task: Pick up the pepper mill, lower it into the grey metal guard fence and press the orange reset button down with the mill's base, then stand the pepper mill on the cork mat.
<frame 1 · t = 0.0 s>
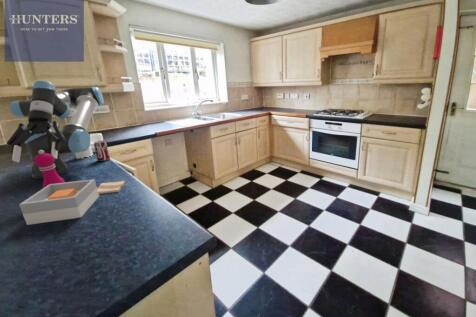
hand: (35, 159, 89), 16 cm above the counter, tool tilted 35°, fingers open, 13 cm apart
bracket: (92, 153, 157), on the counter
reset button: (63, 198, 80), point 4 cm above the counter, slide at 0.0 cm
pepper mill: (58, 195, 93), on the counter, touching gripper
soda can: (104, 160, 139), on the counter
breaker box: (67, 208, 81), on the counter
cork mat: (110, 188, 97), on the counter
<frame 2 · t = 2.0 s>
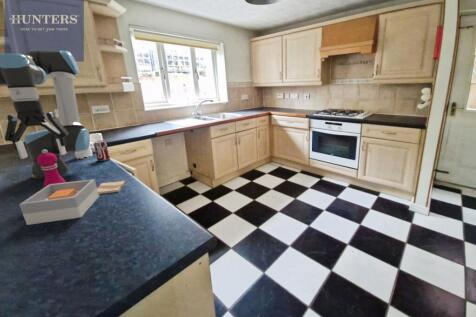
hand: (44, 156, 87), 17 cm above the counter, tool pointing down, fingers open, 13 cm apart
pepper mill: (58, 195, 93), on the counter
everything else where it was.
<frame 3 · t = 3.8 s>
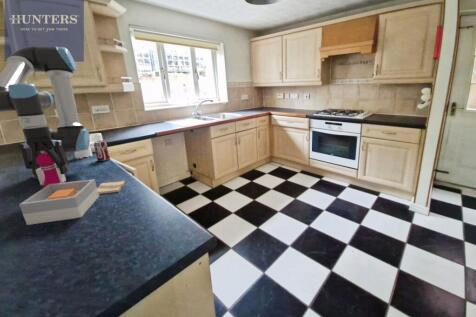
hand: (53, 182, 91), 6 cm above the counter, tool pointing down, fingers closed on pepper mill, 6 cm apart
pepper mill: (58, 195, 93), on the counter, touching gripper
everything else where it was.
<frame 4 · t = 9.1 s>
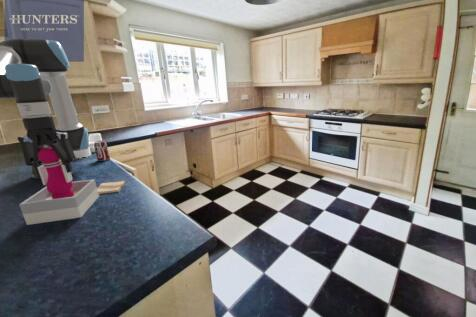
hand: (58, 182, 78), 11 cm above the counter, tool pointing down, fingers closed on pepper mill, 6 cm apart
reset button: (65, 202, 80), point 3 cm above the counter, slide at 1.7 cm, touching pepper mill
pepper mill: (63, 197, 80), point 5 cm above the counter, touching gripper, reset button
when the fingers open (8 cm above the counter, at t = 15.7 s): pepper mill drops 1 cm, resting on cork mat.
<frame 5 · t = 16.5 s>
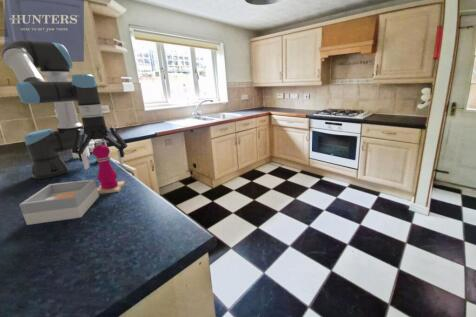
hand: (104, 166, 94), 10 cm above the counter, tool pointing down, fingers open, 13 cm apart
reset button: (65, 202, 80), point 3 cm above the counter, slide at 1.7 cm
pepper mill: (110, 186, 97), point 1 cm above the counter, touching cork mat
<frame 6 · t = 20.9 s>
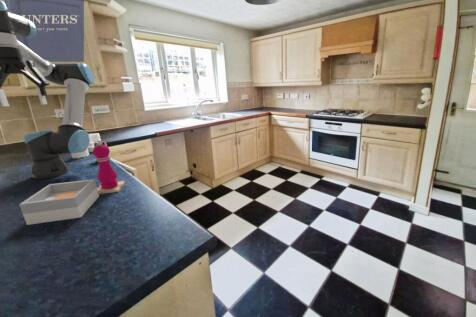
hand: (25, 105, 89), 37 cm above the counter, tool pointing down, fingers open, 13 cm apart
at the end: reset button slide at 1.7 cm; pepper mill inside the target area on the cork mat (0.1 cm from its centre), point 0.8 cm above the cork mat's base; pepper mill tilted 0° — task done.
